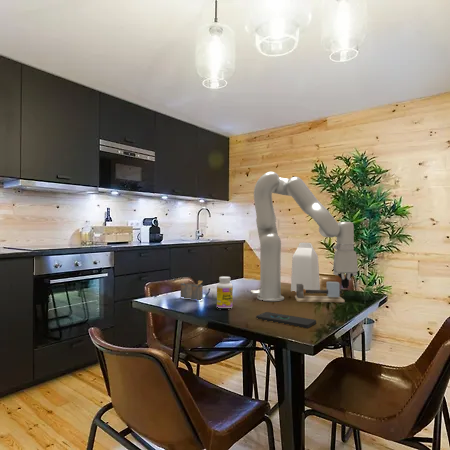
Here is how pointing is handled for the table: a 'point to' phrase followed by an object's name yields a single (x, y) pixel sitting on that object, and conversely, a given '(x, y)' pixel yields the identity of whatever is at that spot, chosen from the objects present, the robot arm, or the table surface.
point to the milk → (305, 268)
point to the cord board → (315, 298)
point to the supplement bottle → (224, 293)
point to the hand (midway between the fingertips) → (345, 287)
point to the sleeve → (333, 289)
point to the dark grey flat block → (287, 319)
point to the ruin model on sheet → (192, 290)
